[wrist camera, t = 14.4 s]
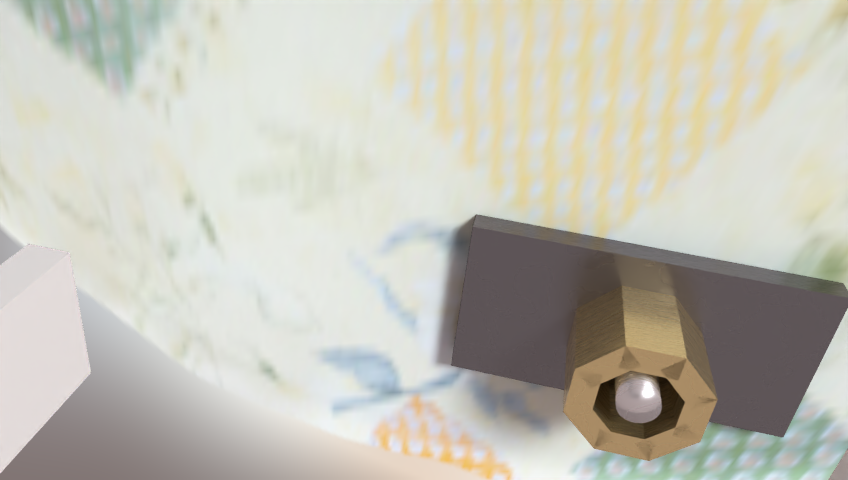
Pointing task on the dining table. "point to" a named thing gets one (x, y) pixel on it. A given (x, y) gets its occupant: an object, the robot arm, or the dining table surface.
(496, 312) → the shaft stand
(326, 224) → the dining table surface
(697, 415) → the ring
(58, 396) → the robot arm
